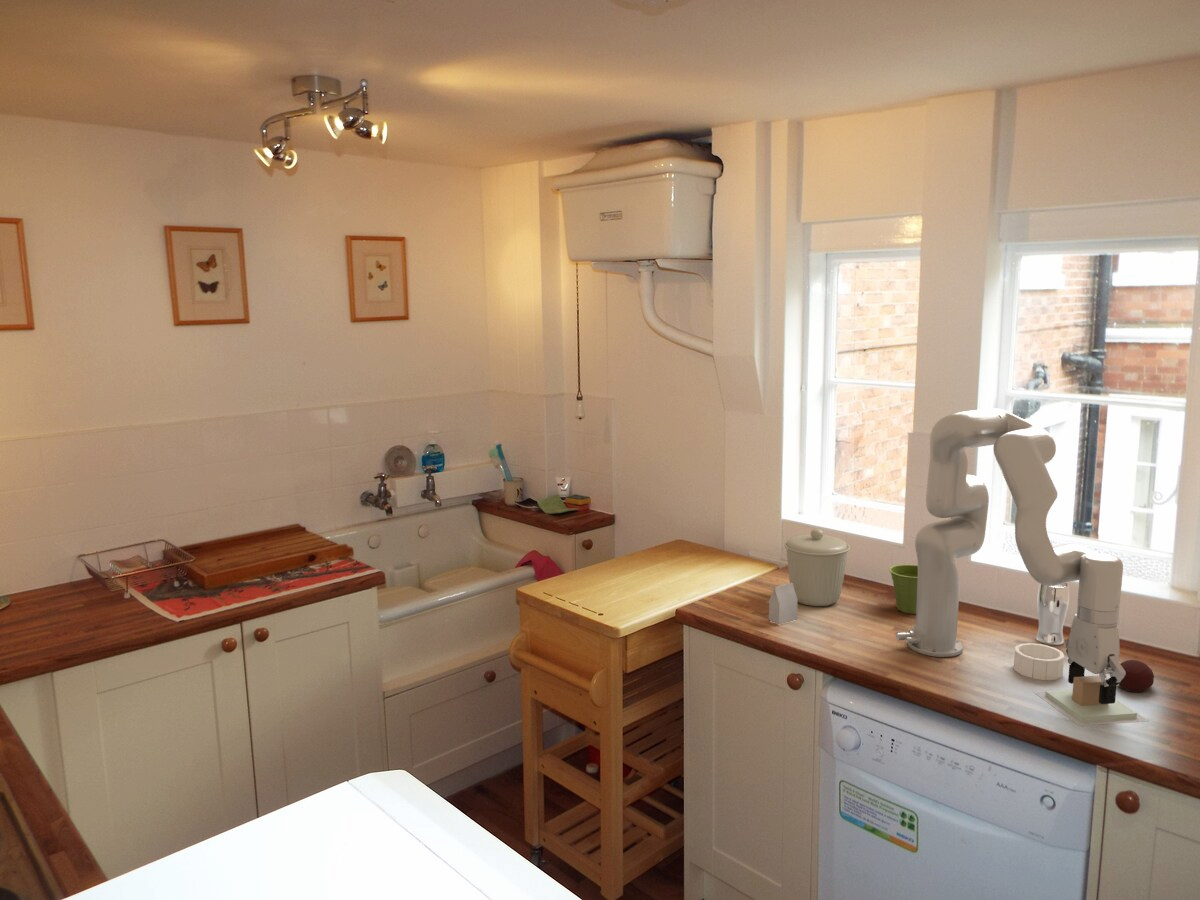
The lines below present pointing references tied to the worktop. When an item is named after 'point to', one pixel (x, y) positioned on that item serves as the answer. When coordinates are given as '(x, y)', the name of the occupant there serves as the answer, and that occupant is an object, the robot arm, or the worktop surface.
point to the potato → (1136, 676)
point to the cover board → (1090, 710)
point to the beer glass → (1052, 612)
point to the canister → (816, 567)
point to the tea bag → (783, 604)
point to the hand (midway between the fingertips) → (1090, 692)
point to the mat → (1079, 723)
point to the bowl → (1038, 661)
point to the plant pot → (905, 587)
